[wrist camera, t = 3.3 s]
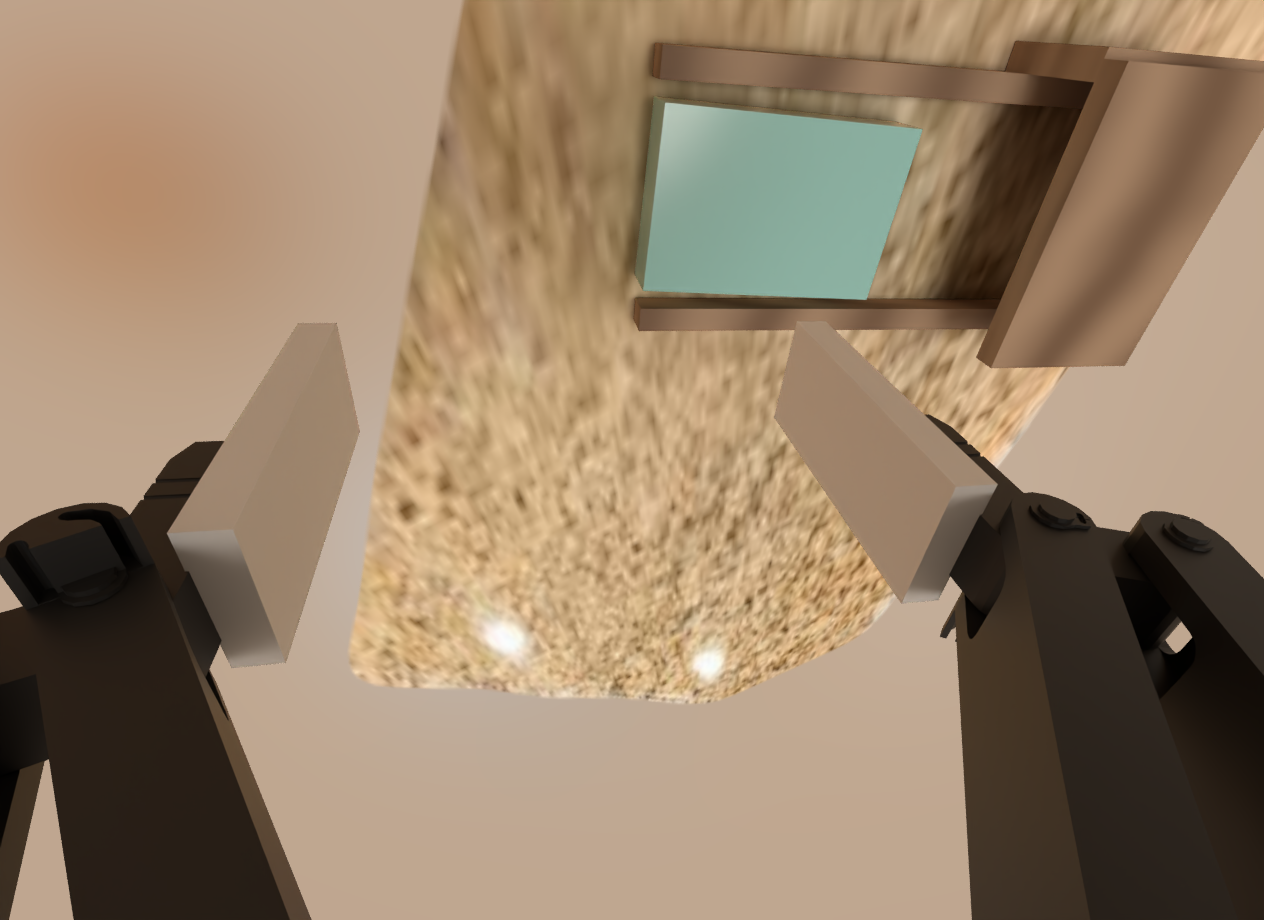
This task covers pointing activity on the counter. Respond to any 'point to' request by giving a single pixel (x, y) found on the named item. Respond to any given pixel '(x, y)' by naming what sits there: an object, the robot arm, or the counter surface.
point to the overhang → (1072, 209)
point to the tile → (768, 200)
